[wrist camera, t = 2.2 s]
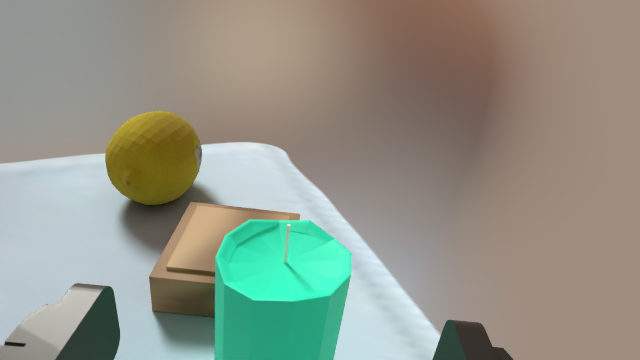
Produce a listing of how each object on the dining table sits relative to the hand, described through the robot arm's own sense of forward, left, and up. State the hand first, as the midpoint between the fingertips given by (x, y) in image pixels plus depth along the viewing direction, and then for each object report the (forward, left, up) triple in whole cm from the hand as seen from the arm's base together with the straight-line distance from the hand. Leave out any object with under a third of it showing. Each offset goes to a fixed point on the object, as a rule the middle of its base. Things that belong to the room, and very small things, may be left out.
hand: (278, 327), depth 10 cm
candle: (0, +7, -14) cm, 16 cm away
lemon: (-13, +27, -14) cm, 34 cm away
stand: (-4, +17, -14) cm, 23 cm away
